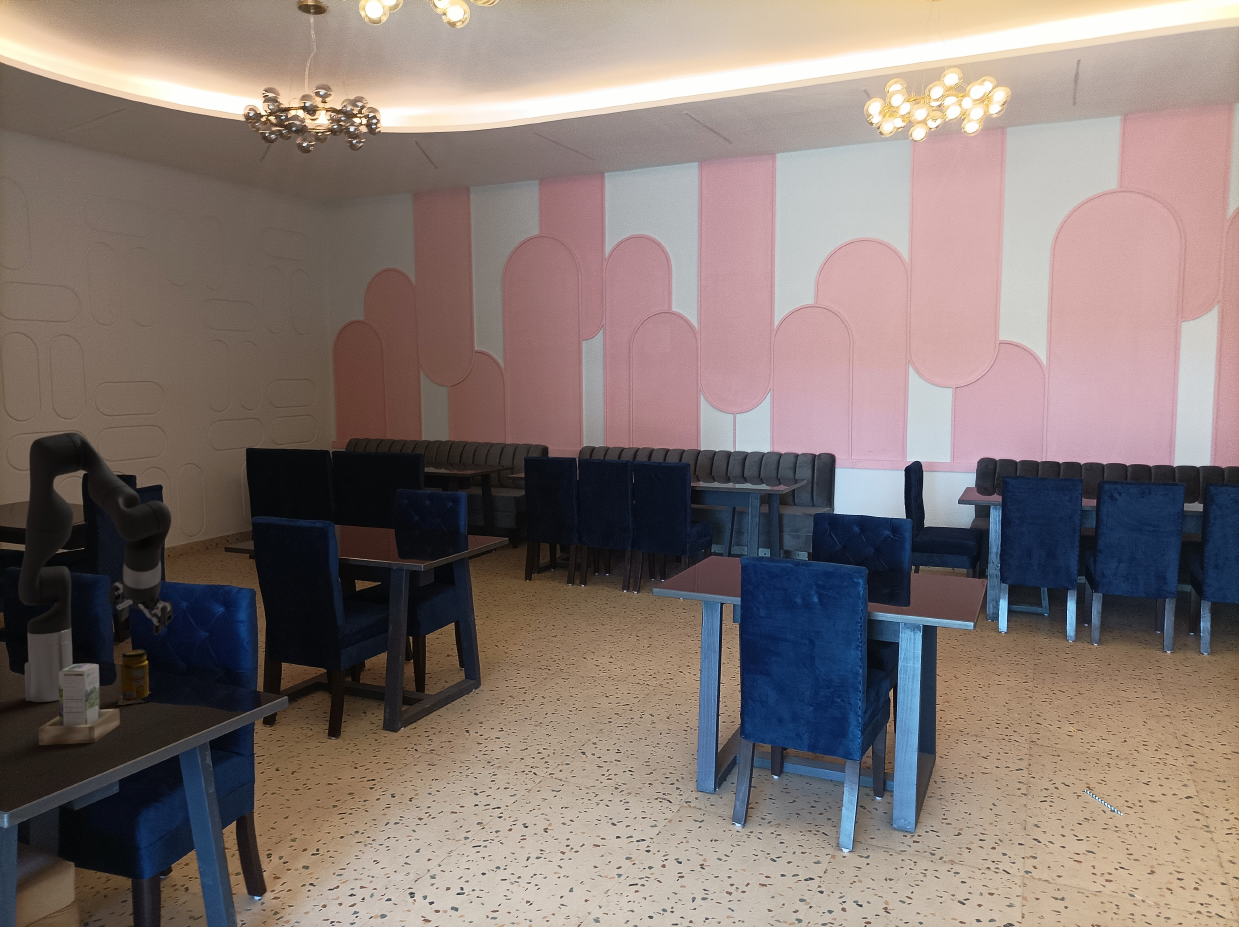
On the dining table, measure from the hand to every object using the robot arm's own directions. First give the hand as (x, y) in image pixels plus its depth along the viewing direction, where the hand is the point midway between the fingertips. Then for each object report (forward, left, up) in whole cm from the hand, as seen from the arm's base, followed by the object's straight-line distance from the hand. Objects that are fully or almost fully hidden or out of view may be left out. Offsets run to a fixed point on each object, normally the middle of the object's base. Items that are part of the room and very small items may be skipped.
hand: (140, 625), depth 199 cm
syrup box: (-9, -11, -21) cm, 25 cm away
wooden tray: (-9, -11, -22) cm, 26 cm away
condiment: (-8, +13, -22) cm, 27 cm away
